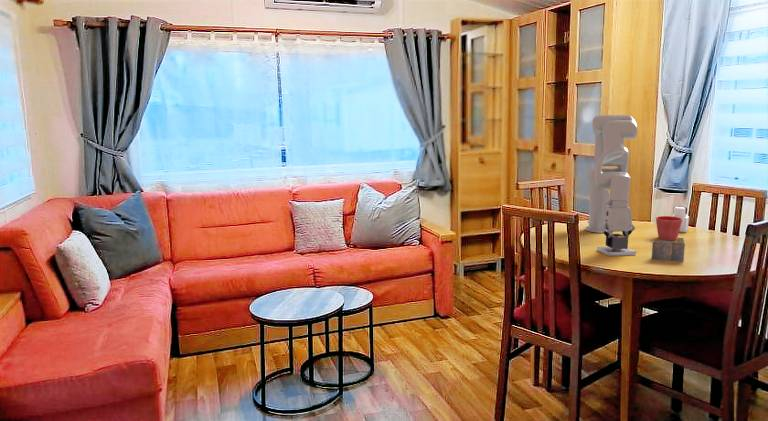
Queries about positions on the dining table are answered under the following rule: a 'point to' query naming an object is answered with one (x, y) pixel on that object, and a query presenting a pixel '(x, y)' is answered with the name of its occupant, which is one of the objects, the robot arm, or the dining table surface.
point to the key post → (615, 251)
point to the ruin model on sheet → (668, 250)
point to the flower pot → (668, 227)
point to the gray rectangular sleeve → (619, 241)
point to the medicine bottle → (681, 213)
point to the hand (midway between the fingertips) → (616, 245)
